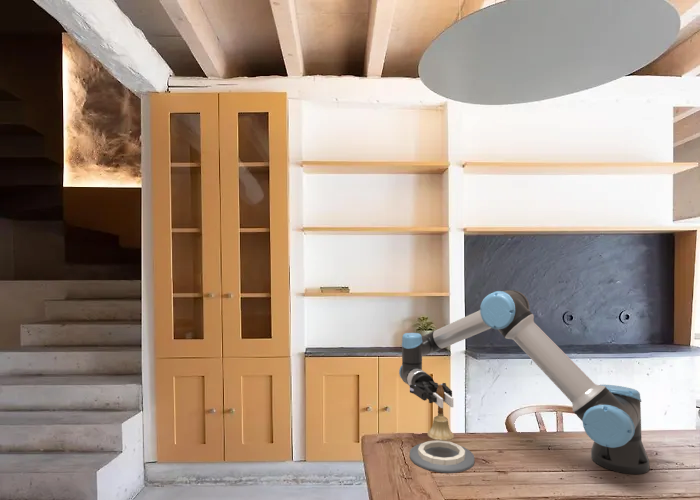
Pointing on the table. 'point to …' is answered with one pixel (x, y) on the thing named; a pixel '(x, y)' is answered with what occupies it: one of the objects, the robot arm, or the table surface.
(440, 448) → the ring tray
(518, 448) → the table surface
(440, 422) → the hand bell
